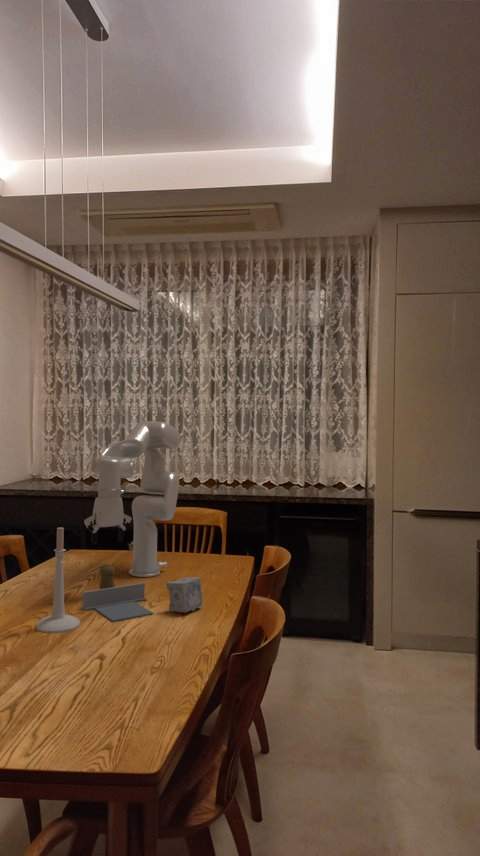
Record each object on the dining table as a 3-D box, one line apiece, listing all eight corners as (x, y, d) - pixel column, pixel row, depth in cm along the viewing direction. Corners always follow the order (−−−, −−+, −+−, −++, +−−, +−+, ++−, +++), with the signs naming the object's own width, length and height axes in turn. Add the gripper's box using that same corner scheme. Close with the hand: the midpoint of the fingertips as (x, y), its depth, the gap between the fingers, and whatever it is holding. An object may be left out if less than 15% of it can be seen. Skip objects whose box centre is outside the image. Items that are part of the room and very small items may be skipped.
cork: (117, 595, 212) (118, 564, 212) (112, 600, 206) (113, 568, 206) (101, 594, 213) (102, 563, 213) (95, 599, 207) (96, 567, 207)
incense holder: (183, 604, 205) (184, 573, 204) (203, 608, 200) (203, 577, 200) (165, 611, 196) (165, 579, 196) (185, 616, 192) (186, 584, 192)
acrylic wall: (140, 597, 210) (141, 581, 210) (146, 600, 207) (146, 584, 207) (80, 607, 197) (81, 590, 197) (85, 611, 194) (85, 593, 194)
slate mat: (133, 603, 204) (133, 601, 204) (153, 614, 192) (153, 612, 192) (94, 609, 195) (94, 608, 195) (112, 622, 184) (112, 620, 184)
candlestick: (88, 621, 184) (90, 524, 184) (63, 635, 172) (65, 531, 172) (53, 616, 188) (55, 521, 188) (26, 629, 176) (28, 528, 176)
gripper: (127, 491, 217) (125, 538, 217) (81, 493, 207) (79, 543, 207) (136, 494, 211) (135, 542, 211) (89, 496, 201) (88, 547, 201)
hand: (107, 542), depth 209 cm, fingers open, 9 cm apart
